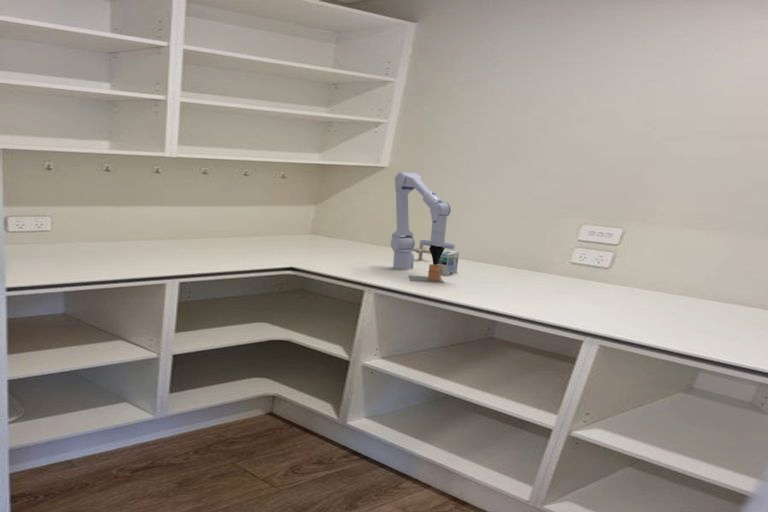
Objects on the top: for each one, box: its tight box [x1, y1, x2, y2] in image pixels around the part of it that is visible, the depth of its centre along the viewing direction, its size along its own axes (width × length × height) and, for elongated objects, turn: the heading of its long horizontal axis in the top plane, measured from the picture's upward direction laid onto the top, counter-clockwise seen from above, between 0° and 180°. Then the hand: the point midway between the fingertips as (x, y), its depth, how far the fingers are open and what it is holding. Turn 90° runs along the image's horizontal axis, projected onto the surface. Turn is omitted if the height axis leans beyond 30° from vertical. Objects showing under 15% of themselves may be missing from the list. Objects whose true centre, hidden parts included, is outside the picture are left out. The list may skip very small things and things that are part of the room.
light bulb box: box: [438, 249, 460, 277], centre depth 233 cm, size 11×7×11 cm, turn 148°
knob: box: [427, 263, 442, 281], centre depth 218 cm, size 5×5×6 cm
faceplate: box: [408, 274, 445, 284], centre depth 218 cm, size 14×10×4 cm
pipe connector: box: [412, 239, 431, 261], centre depth 264 cm, size 10×10×10 cm
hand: (435, 264), depth 217 cm, fingers closed
